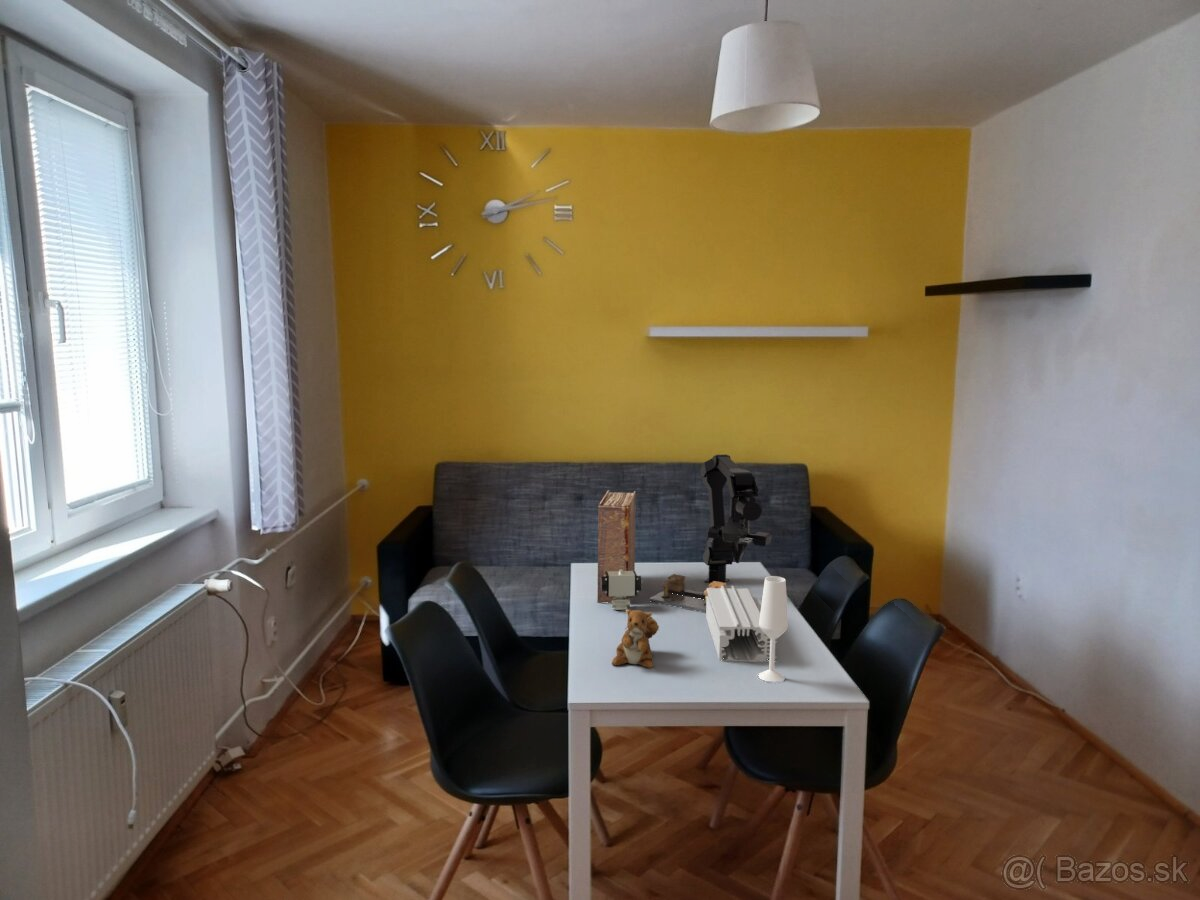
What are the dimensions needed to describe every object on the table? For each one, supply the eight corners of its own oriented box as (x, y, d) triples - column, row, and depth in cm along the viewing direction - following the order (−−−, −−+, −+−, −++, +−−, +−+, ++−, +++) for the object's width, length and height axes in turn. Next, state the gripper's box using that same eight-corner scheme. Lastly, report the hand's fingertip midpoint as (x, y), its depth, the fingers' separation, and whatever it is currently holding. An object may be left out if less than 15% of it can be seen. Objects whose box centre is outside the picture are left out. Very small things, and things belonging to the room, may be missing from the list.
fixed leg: (673, 586, 251) (673, 573, 250) (684, 588, 249) (685, 575, 248) (658, 595, 242) (658, 582, 241) (670, 597, 240) (670, 584, 239)
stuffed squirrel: (610, 667, 192) (610, 615, 190) (623, 645, 206) (624, 597, 204) (650, 672, 190) (651, 619, 188) (661, 650, 203) (662, 600, 201)
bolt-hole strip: (661, 594, 247) (661, 591, 247) (733, 608, 235) (733, 604, 235) (649, 601, 240) (649, 598, 240) (723, 616, 228) (723, 612, 228)
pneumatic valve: (641, 611, 232) (642, 571, 230) (601, 612, 231) (601, 572, 229) (638, 604, 237) (639, 566, 236) (599, 605, 236) (600, 566, 235)
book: (607, 578, 264) (608, 489, 260) (634, 579, 263) (636, 490, 258) (597, 603, 239) (598, 505, 235) (627, 604, 238) (629, 506, 234)
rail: (669, 590, 251) (669, 583, 251) (754, 606, 237) (754, 598, 237) (665, 593, 249) (665, 585, 248) (750, 609, 234) (750, 601, 234)
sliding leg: (713, 593, 244) (714, 581, 243) (725, 596, 242) (726, 583, 241) (699, 603, 235) (699, 590, 234) (712, 605, 233) (712, 592, 232)
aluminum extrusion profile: (755, 619, 227) (757, 586, 225) (776, 663, 196) (778, 624, 195) (705, 618, 227) (706, 585, 226) (718, 662, 197) (720, 623, 195)
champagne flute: (753, 671, 190) (757, 575, 187) (781, 671, 191) (785, 574, 187) (761, 683, 184) (765, 583, 180) (789, 683, 184) (793, 583, 181)
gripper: (700, 514, 237) (698, 564, 239) (760, 522, 227) (758, 574, 230) (714, 507, 246) (713, 555, 249) (773, 514, 237) (770, 565, 239)
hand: (737, 562), depth 241 cm, fingers closed
